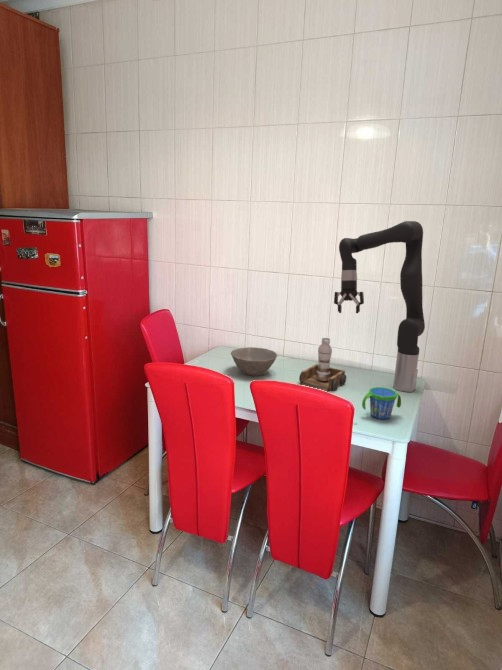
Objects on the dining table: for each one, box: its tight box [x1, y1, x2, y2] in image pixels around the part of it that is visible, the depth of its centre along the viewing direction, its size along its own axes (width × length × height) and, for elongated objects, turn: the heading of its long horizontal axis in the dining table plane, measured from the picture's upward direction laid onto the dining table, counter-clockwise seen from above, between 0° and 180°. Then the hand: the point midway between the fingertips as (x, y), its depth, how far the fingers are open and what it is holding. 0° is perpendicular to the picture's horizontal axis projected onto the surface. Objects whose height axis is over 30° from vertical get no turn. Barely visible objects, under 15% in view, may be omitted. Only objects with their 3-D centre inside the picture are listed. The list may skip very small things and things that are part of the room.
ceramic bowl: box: [230, 346, 278, 377], centre depth 225 cm, size 22×23×10 cm
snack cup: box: [361, 386, 402, 420], centre depth 181 cm, size 16×10×10 cm
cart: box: [298, 363, 347, 393], centre depth 213 cm, size 20×17×6 cm
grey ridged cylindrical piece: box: [316, 337, 333, 381], centre depth 212 cm, size 6×7×20 cm
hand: (348, 313), depth 227 cm, fingers open, 8 cm apart
